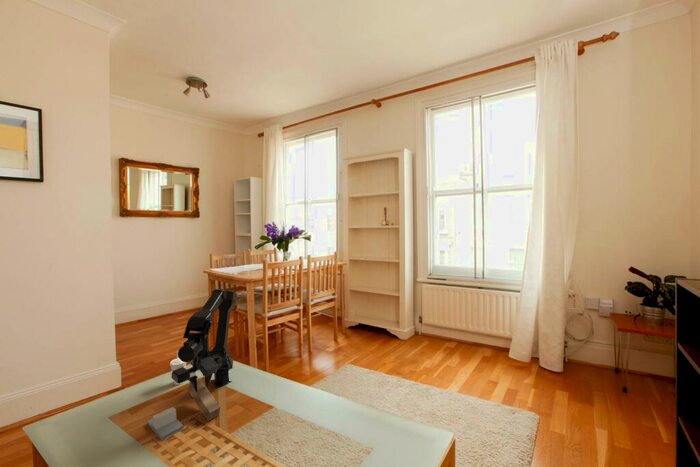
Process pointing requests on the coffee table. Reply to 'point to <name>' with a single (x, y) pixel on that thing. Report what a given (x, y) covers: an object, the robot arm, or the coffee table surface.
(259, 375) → the coffee table surface
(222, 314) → the robot arm
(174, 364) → the smoothie
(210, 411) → the walnut bar
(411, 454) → the coffee table surface
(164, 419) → the stand
